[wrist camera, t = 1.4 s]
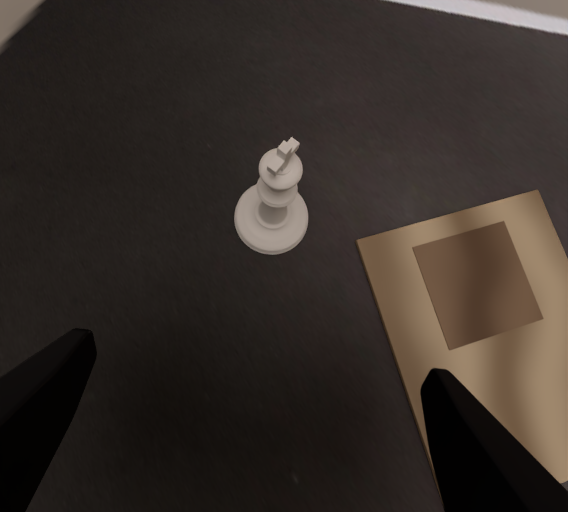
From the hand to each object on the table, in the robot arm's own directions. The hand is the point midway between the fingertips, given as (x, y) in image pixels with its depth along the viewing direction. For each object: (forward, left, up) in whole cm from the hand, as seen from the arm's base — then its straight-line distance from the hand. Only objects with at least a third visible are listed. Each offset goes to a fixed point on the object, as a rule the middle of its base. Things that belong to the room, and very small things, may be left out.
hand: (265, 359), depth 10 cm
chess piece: (+3, +7, -14) cm, 16 cm away
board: (+15, -5, -13) cm, 21 cm away
